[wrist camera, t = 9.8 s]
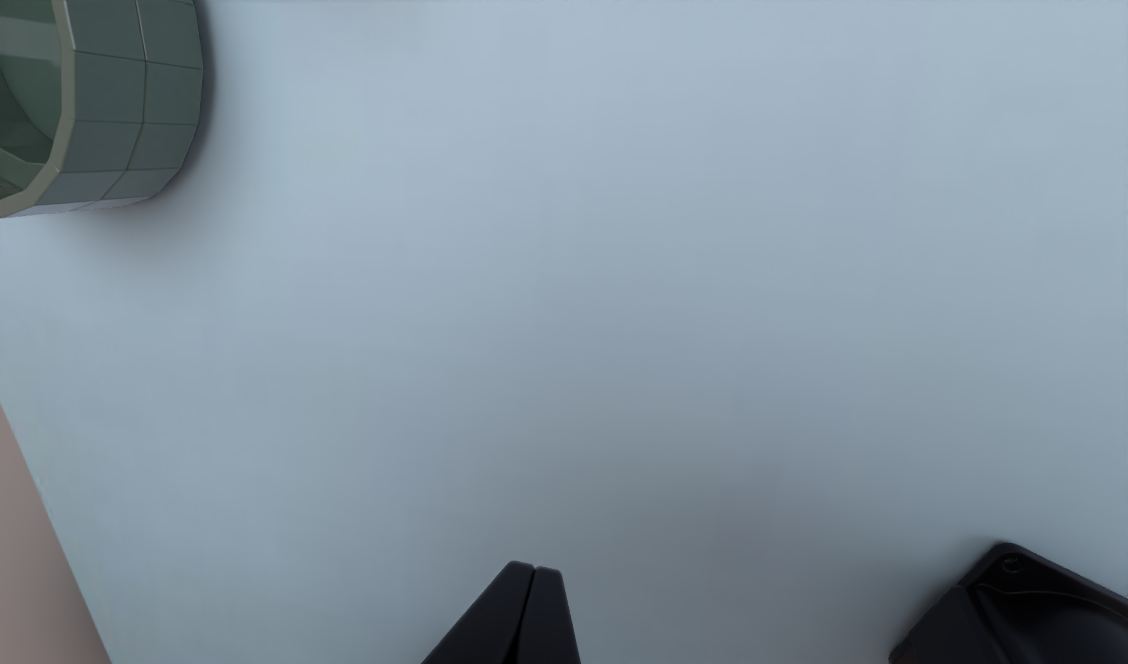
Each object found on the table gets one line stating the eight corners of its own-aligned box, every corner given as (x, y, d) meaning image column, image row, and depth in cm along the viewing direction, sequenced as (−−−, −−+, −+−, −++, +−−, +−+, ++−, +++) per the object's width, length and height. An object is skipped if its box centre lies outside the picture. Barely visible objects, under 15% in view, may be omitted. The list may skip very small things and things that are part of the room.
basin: (235, -97, 19) (75, -173, 14) (200, 252, 24) (74, 276, 20) (-44, -211, 21) (-264, -310, 16) (-21, 135, 26) (-181, 132, 22)
